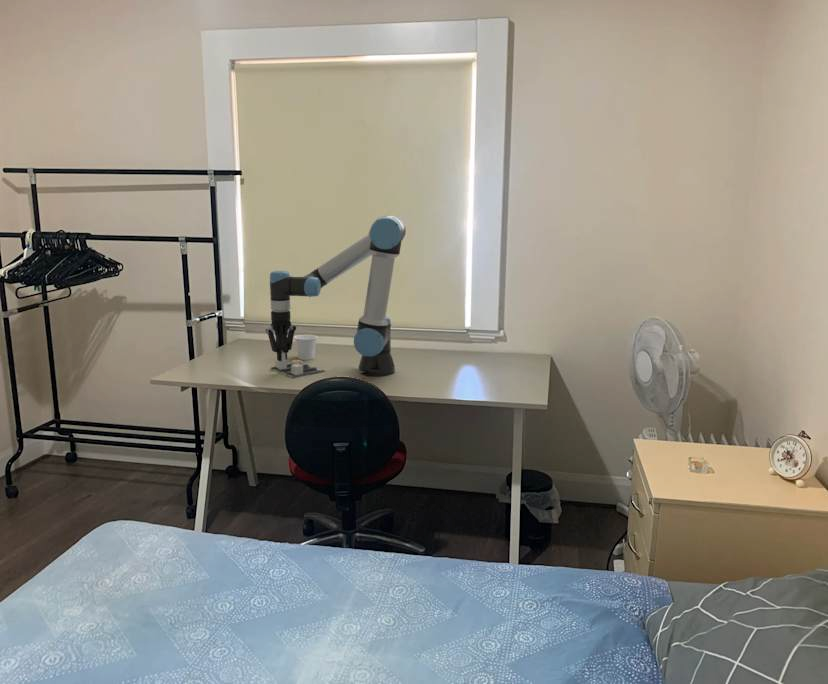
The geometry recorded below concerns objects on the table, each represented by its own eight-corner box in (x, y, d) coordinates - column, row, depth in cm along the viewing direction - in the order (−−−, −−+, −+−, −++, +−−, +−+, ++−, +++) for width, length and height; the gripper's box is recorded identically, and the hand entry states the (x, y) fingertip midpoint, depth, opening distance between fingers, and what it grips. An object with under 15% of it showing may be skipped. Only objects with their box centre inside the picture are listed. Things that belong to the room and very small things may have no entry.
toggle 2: (303, 369, 283) (303, 361, 282) (297, 371, 281) (296, 362, 280) (298, 367, 286) (297, 359, 285) (291, 369, 284) (291, 360, 283)
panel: (326, 374, 282) (326, 369, 282) (292, 381, 272) (292, 376, 271) (302, 366, 295) (302, 361, 295) (269, 372, 285) (268, 367, 284)
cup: (320, 359, 308) (319, 334, 305) (314, 364, 298) (314, 339, 296) (298, 358, 309) (297, 334, 306) (292, 363, 299) (291, 338, 297)
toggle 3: (303, 374, 276) (302, 365, 275) (296, 375, 274) (296, 367, 273) (297, 372, 279) (297, 364, 278) (291, 373, 277) (290, 365, 276)
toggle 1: (287, 368, 284) (286, 360, 284) (280, 369, 282) (280, 361, 282) (281, 366, 287) (281, 358, 286) (275, 367, 285) (275, 359, 285)
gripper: (289, 307, 280) (291, 363, 285) (261, 310, 271) (263, 368, 277) (299, 309, 275) (301, 367, 280) (270, 313, 266) (273, 372, 271)
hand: (282, 368), depth 278 cm, fingers closed
